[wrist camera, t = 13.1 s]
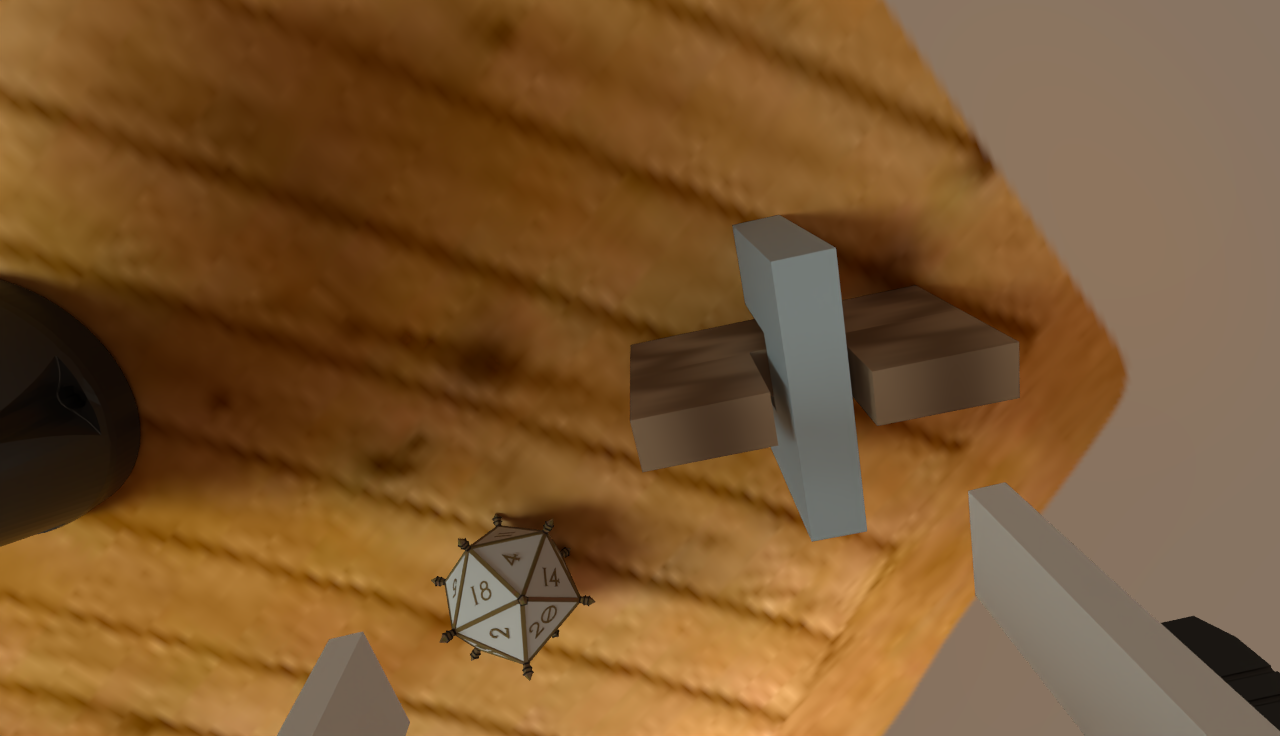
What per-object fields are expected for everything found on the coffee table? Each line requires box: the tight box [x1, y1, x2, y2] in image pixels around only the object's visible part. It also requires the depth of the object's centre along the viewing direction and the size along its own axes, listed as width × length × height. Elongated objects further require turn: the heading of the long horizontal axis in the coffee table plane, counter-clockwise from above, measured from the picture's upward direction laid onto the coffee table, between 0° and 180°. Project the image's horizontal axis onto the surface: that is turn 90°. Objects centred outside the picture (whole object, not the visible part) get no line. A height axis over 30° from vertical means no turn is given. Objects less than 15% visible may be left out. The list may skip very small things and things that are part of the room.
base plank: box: [630, 285, 1020, 472], centre depth 31 cm, size 16×2×10 cm, turn 102°
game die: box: [431, 514, 595, 681], centre depth 37 cm, size 9×8×10 cm
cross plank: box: [732, 215, 867, 541], centre depth 31 cm, size 2×13×10 cm, turn 12°
